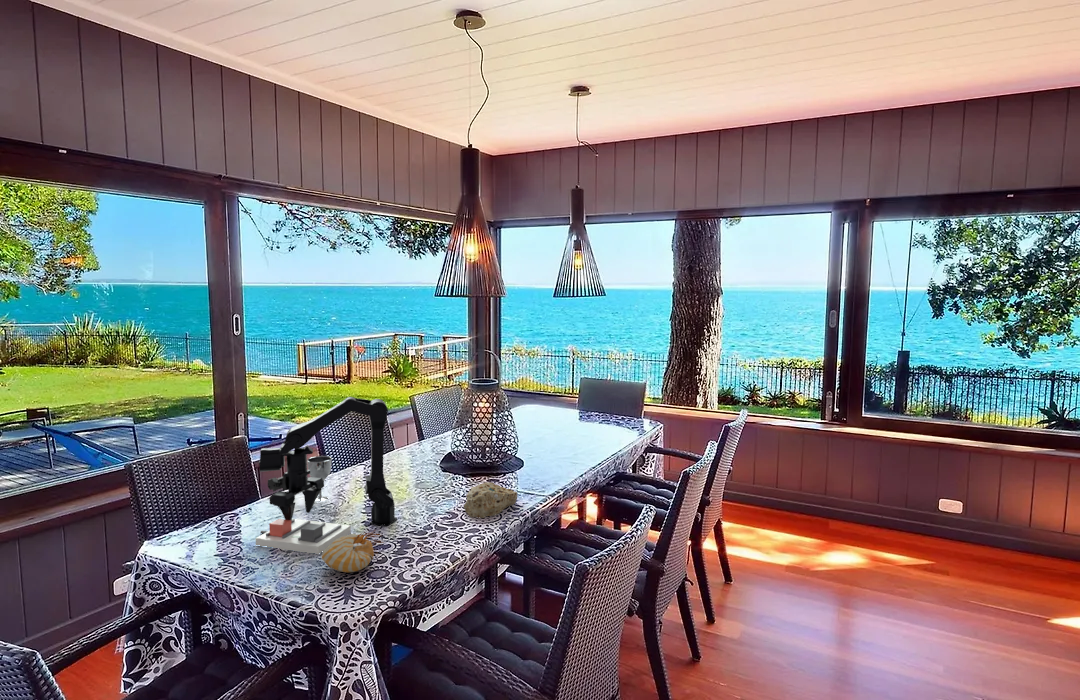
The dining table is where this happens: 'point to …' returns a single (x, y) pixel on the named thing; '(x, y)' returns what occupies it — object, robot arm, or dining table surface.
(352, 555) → the nautilus
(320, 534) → the grey cube
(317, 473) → the wine glass
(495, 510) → the rock
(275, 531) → the red switch
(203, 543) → the dining table surface
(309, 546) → the white flat slab
